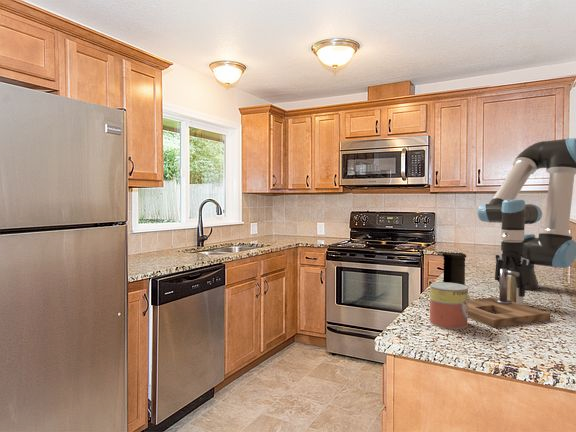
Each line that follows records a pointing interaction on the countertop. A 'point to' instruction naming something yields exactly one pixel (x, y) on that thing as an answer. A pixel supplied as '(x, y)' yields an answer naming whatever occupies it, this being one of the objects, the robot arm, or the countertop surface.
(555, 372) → the countertop surface
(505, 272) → the door lever handle
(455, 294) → the canned food
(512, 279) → the box
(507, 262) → the robot arm
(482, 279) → the countertop surface
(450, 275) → the container
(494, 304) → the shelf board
